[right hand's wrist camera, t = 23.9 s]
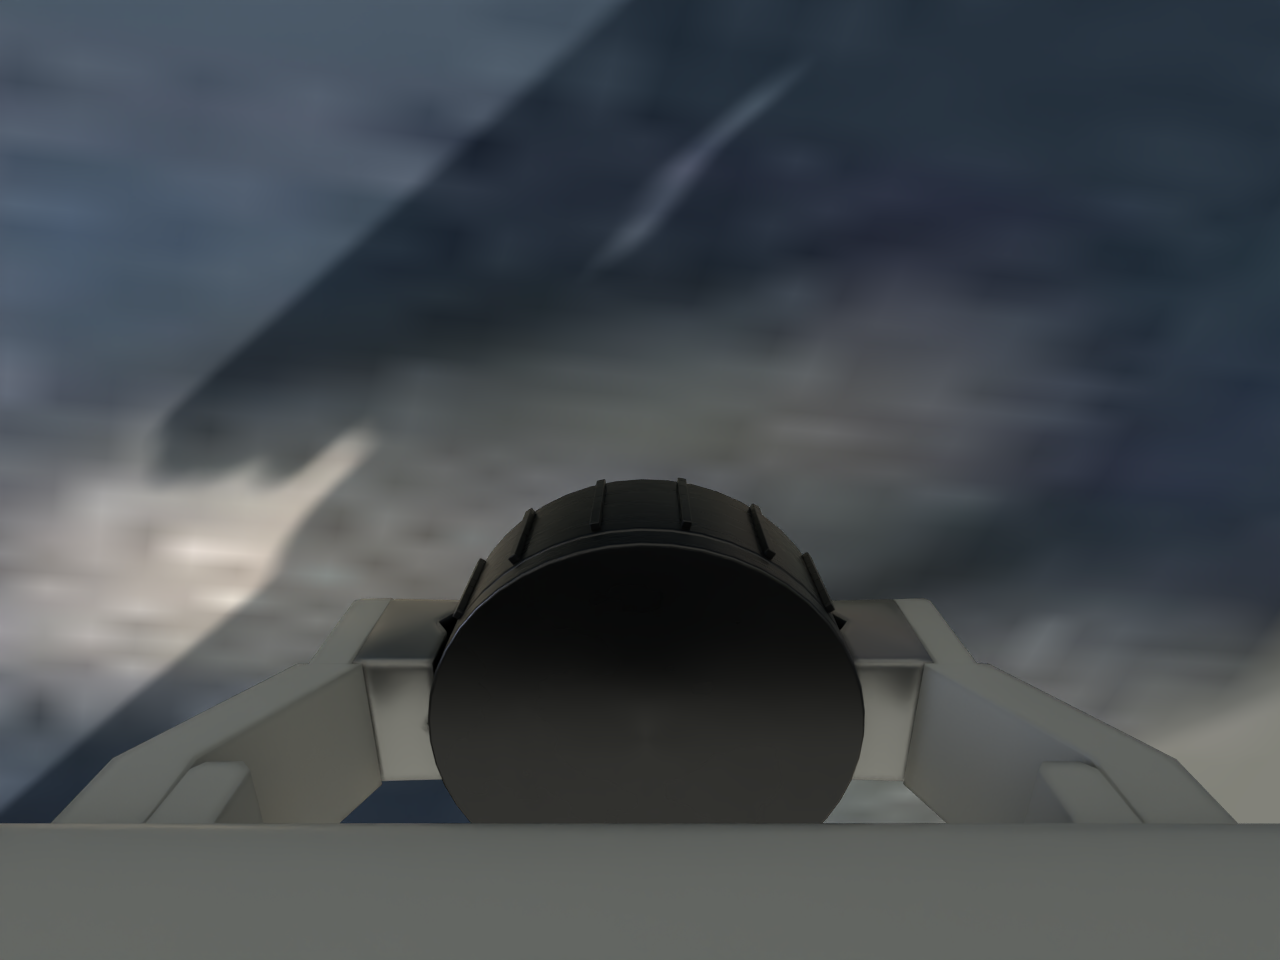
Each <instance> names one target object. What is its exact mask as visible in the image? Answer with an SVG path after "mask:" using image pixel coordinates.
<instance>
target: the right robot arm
mask: <svg viewBox="0 0 1280 960" xmlns="http://www.w3.org/2000/svg"><path fill="white" fill-rule="evenodd" d="M459 601H460V600H430V599H395V600H394V599H392V598H379V599H359V600H355V601H354V602H353V603H352V605H351V606H350V608H349V609H348V610H347V612H346V613H345V614H344V616H343V617H342V619H341V620H340V621H339V623H338V624H337V625H336V627H335V628H334V630H333V631H332V632H331V634H330V635H329V636H328V638H327V639H326V641H325V642H324V643H323V645H322V646H321V648H320V649H319V650H318V652H317V653H316V654H315V656H314V657H313V659H312V660H311V661H310V663H309V664H296V665H294V666H292V667H290V668H288V669H286V670H284V671H282V672H280V673H278V674H276V675H275V676H273V677H271V678H269V679H267V680H265V681H263V682H261V683H259V684H257V685H255V686H253V687H251V688H249V689H247V690H245V691H243V692H241V693H239V694H237V695H235V696H233V697H231V698H230V699H228V700H226V701H224V702H222V703H220V704H218V705H216V706H214V707H212V708H210V709H208V710H206V711H204V712H202V713H200V714H198V715H196V716H194V717H192V718H190V719H188V720H186V721H185V722H183V723H181V724H179V725H177V726H175V727H173V728H171V729H169V730H167V731H165V732H163V733H161V734H159V735H157V736H155V737H153V738H151V739H149V740H147V741H145V742H143V743H141V744H139V745H138V746H136V747H134V748H132V749H130V750H128V751H126V752H124V753H122V754H120V755H118V756H116V757H114V758H112V759H111V760H110V761H109V763H108V764H107V765H106V766H105V767H104V768H103V769H102V770H101V771H100V772H99V773H98V774H97V775H96V776H95V777H94V778H93V779H92V780H91V781H90V782H89V783H88V785H87V786H86V787H85V788H84V789H83V790H82V791H81V792H80V793H79V794H78V795H77V796H76V797H75V798H74V799H73V800H72V801H71V802H70V803H69V804H68V805H67V807H66V808H65V809H64V810H63V811H62V812H61V813H60V814H59V815H58V816H57V817H56V818H55V819H54V820H53V821H52V822H51V823H0V960H1280V824H1238V823H1237V822H1236V821H1235V820H1234V819H1233V818H1232V817H1231V816H1230V815H1229V814H1228V813H1227V811H1226V810H1225V809H1224V808H1223V807H1222V806H1221V805H1220V804H1219V803H1218V802H1217V801H1216V800H1215V799H1214V798H1213V797H1212V796H1211V795H1210V794H1209V793H1208V792H1207V791H1206V790H1205V789H1204V788H1203V787H1202V785H1201V784H1200V783H1199V782H1198V781H1197V780H1196V779H1195V778H1194V777H1193V776H1192V775H1191V774H1190V773H1189V772H1188V771H1187V770H1186V769H1185V768H1184V767H1183V766H1182V765H1181V764H1180V763H1179V762H1178V761H1177V760H1176V759H1175V758H1173V757H1171V756H1169V755H1167V754H1165V753H1163V752H1161V751H1159V750H1157V749H1155V748H1153V747H1151V746H1149V745H1147V744H1145V743H1143V742H1141V741H1139V740H1137V739H1135V738H1133V737H1131V736H1130V735H1128V734H1126V733H1124V732H1122V731H1120V730H1118V729H1116V728H1114V727H1112V726H1110V725H1108V724H1106V723H1104V722H1102V721H1100V720H1098V719H1096V718H1094V717H1092V716H1090V715H1088V714H1086V713H1084V712H1082V711H1080V710H1078V709H1076V708H1074V707H1072V706H1071V705H1069V704H1067V703H1065V702H1063V701H1061V700H1059V699H1057V698H1055V697H1053V696H1051V695H1049V694H1047V693H1045V692H1043V691H1041V690H1039V689H1037V688H1035V687H1033V686H1031V685H1029V684H1027V683H1025V682H1023V681H1021V680H1019V679H1017V678H1015V677H1014V676H1012V675H1010V674H1008V673H1006V672H1004V671H1002V670H1000V669H998V668H996V667H994V666H992V665H990V664H977V663H976V661H975V660H974V659H973V657H972V656H971V655H970V653H969V652H968V651H967V649H966V648H965V647H964V645H963V644H962V643H961V641H960V640H959V639H958V637H957V636H956V635H955V633H954V632H953V631H952V629H951V628H950V627H949V625H948V624H947V622H946V621H945V620H944V618H943V617H942V616H941V614H940V613H939V612H938V610H937V609H936V608H935V606H934V605H933V604H932V602H931V601H929V600H927V599H925V598H912V599H879V600H838V601H832V603H833V605H834V607H835V610H834V611H832V612H831V613H832V615H833V617H834V619H835V621H836V624H837V626H838V628H839V630H840V633H841V635H842V637H843V639H844V641H845V644H846V646H847V648H848V650H849V652H850V655H851V657H852V659H853V661H854V664H855V667H856V670H857V673H858V676H859V680H860V683H861V686H862V692H863V699H864V707H865V726H864V738H863V743H862V748H861V753H860V758H859V761H858V764H857V766H856V769H855V772H854V774H853V777H852V780H888V781H904V783H903V784H904V785H905V786H906V787H908V788H909V789H910V790H911V791H912V792H913V793H914V794H915V795H916V796H917V797H919V798H920V799H921V800H922V801H923V802H924V803H925V804H926V805H927V806H928V807H930V808H931V809H932V810H933V811H934V812H935V813H936V814H937V815H938V816H939V817H941V818H942V819H943V820H944V821H945V822H946V823H340V822H341V821H342V820H343V819H344V818H346V817H347V816H348V815H349V814H350V813H351V812H352V811H353V810H354V809H355V808H357V807H358V806H359V805H360V804H361V803H362V802H363V801H364V800H365V799H366V798H367V797H369V796H370V795H371V794H372V793H373V792H374V791H375V790H376V789H377V788H378V787H380V786H381V785H382V782H381V781H396V780H432V779H442V778H441V776H440V773H439V771H438V769H437V766H436V764H435V760H434V756H433V752H432V748H431V744H430V738H429V726H428V707H429V694H430V690H431V686H432V682H433V678H434V674H435V670H436V668H437V666H438V663H439V661H440V659H441V656H442V654H443V652H444V649H445V647H446V645H447V643H448V640H449V638H450V636H451V634H452V631H453V629H454V627H455V625H456V622H457V620H458V619H456V618H454V617H453V614H454V612H455V610H456V608H457V606H458V603H459Z"/></svg>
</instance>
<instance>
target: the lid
mask: <svg viewBox="0 0 1280 960" xmlns="http://www.w3.org/2000/svg"><path fill="white" fill-rule="evenodd" d="M834 610H835V607H834V605H833V603H832V601H831V599H830V597H829V594H828V592H827V590H826V588H825V586H824V584H823V582H822V579H821V577H820V575H819V573H818V571H817V569H816V566H815V564H814V562H813V560H812V558H811V556H810V555H809V553H808V552H806V553H805V554H803V555H802V554H801V552H800V551H799V550H798V548H797V547H796V546H795V545H794V543H793V542H792V541H791V540H790V539H789V538H788V537H787V536H786V535H785V534H784V533H783V532H782V531H781V530H780V529H779V528H778V527H777V526H775V525H774V524H773V523H772V522H770V521H769V520H768V519H767V518H765V517H764V516H763V515H762V514H761V511H760V508H759V507H758V506H756V505H755V504H752V505H751V506H750V507H748V506H747V505H745V504H743V503H742V502H740V501H737V500H735V499H733V498H731V497H728V496H726V495H724V494H722V493H719V492H716V491H713V490H710V489H706V488H703V487H699V486H696V485H692V484H687V483H686V479H683V478H678V479H677V482H674V481H668V480H644V479H640V480H628V481H616V482H611V483H606V482H605V479H603V480H599V481H597V484H596V486H591V487H588V488H585V489H582V490H579V491H576V492H573V493H570V494H567V495H565V496H563V497H561V498H559V499H557V500H555V501H553V502H551V503H549V504H547V505H545V506H543V507H541V508H540V509H538V510H537V511H534V510H533V509H532V508H531V509H529V510H528V511H526V513H525V515H524V518H523V520H522V521H521V522H520V523H519V524H518V525H517V526H516V527H514V528H513V529H512V530H511V531H510V532H509V533H508V534H507V535H506V536H505V537H504V538H503V539H502V540H501V541H500V543H499V544H498V545H497V546H496V547H495V548H494V550H493V551H492V552H491V553H490V555H489V557H488V558H487V560H486V561H485V560H483V559H481V558H480V560H479V561H478V563H477V565H476V567H475V569H474V571H473V573H472V575H471V578H470V580H469V582H468V584H467V586H466V588H465V590H464V593H463V595H462V597H461V599H460V601H459V603H458V606H457V608H456V610H455V612H454V614H453V617H454V618H456V619H458V620H457V622H456V625H455V627H454V629H453V631H452V634H451V636H450V638H449V640H448V643H447V645H446V647H445V649H444V652H443V654H442V656H441V659H440V661H439V663H438V666H437V668H436V670H435V674H434V678H433V682H432V686H431V690H430V694H429V707H428V726H429V738H430V744H431V748H432V752H433V756H434V760H435V764H436V766H437V769H438V771H439V773H440V776H441V778H442V781H443V783H444V785H445V787H446V789H447V790H448V792H449V793H450V795H451V797H452V798H453V800H454V802H455V803H456V805H457V806H458V807H459V809H460V810H461V811H462V812H463V814H464V815H465V816H466V817H467V819H468V820H469V821H470V822H471V823H823V822H824V821H825V820H826V819H827V817H828V816H829V815H830V813H831V812H832V811H833V809H834V808H835V807H836V805H837V804H838V803H839V801H840V800H841V798H842V796H843V794H844V793H845V791H846V789H847V787H848V785H849V783H850V782H851V780H852V777H853V774H854V772H855V769H856V766H857V764H858V761H859V758H860V753H861V748H862V743H863V738H864V726H865V707H864V699H863V692H862V686H861V683H860V680H859V676H858V673H857V670H856V667H855V664H854V661H853V659H852V657H851V655H850V652H849V650H848V648H847V646H846V644H845V641H844V639H843V637H842V635H841V633H840V630H839V628H838V626H837V624H836V621H835V619H834V617H833V615H832V613H831V612H832V611H834Z"/></svg>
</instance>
